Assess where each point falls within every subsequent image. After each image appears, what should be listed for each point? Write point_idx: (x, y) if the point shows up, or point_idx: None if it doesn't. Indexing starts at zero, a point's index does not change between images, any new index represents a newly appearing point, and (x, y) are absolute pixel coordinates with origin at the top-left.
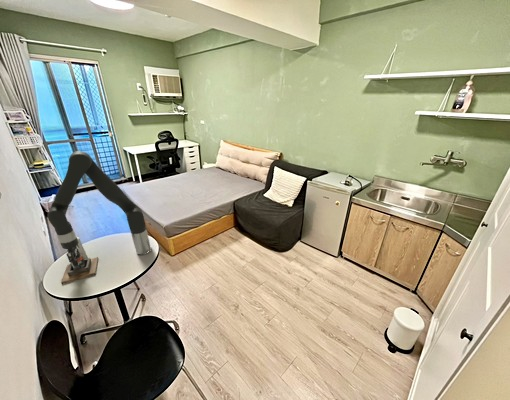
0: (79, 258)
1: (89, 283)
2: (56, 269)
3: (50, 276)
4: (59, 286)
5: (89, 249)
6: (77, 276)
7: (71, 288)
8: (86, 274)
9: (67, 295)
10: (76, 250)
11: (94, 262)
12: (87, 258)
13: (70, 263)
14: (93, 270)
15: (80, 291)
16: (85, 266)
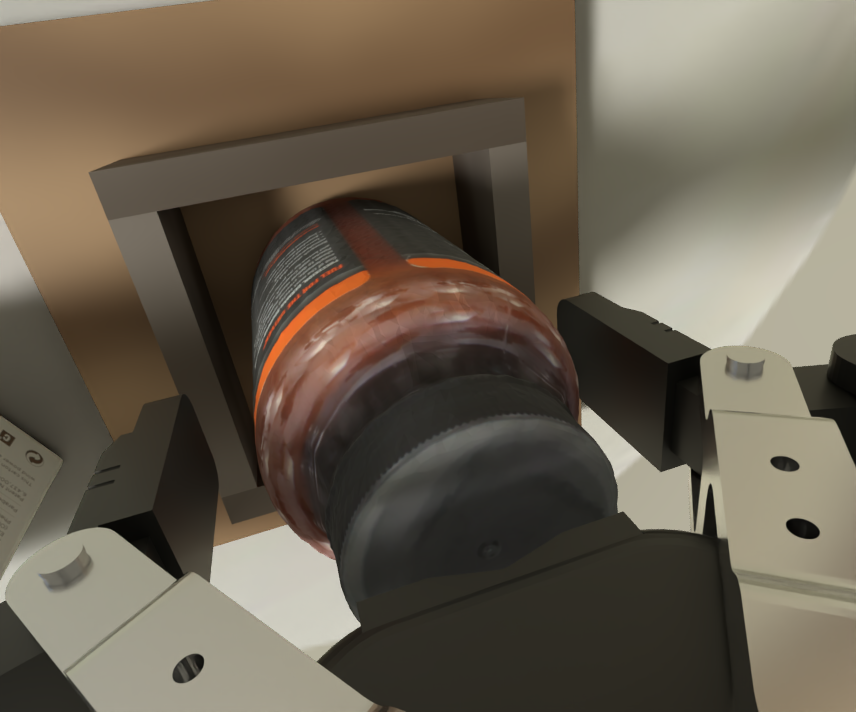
0: (532, 316)
1: (726, 32)
2: None
3: (352, 613)
4: (590, 424)
5: None
6: (551, 266)
7: (697, 266)
8: (558, 127)
9: (792, 263)
10: (788, 599)
11: (180, 67)
12: (120, 232)
13: (259, 514)
14: (490, 12)
15: (816, 122)
16: (377, 202)
